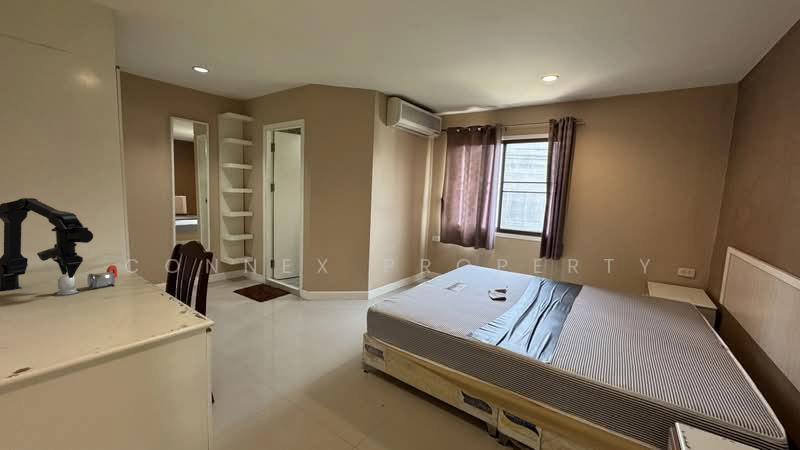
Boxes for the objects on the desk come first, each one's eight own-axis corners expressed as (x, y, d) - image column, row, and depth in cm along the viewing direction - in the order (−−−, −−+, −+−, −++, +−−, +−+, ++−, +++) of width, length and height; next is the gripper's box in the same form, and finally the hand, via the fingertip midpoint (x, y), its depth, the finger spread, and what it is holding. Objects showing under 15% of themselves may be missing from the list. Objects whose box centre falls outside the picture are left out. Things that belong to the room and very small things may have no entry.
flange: (50, 293, 141) (50, 292, 141) (78, 288, 149) (78, 287, 149) (56, 297, 137) (56, 296, 137) (84, 292, 144) (84, 291, 144)
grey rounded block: (87, 287, 152) (86, 272, 151) (108, 284, 158) (108, 269, 158) (93, 290, 147) (93, 275, 147) (115, 287, 154) (115, 272, 153)
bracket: (107, 278, 167) (106, 264, 167) (117, 278, 168) (116, 264, 168) (91, 285, 156) (91, 269, 155) (102, 285, 157) (102, 269, 156)
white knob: (74, 289, 147) (73, 274, 146) (77, 291, 144) (77, 276, 143) (56, 292, 142) (55, 276, 141) (60, 294, 139) (59, 278, 138)
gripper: (32, 241, 139) (34, 276, 140) (45, 246, 129) (47, 283, 131) (68, 238, 148) (70, 271, 150) (82, 243, 139) (84, 278, 140)
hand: (67, 276), depth 142 cm, fingers open, 9 cm apart
